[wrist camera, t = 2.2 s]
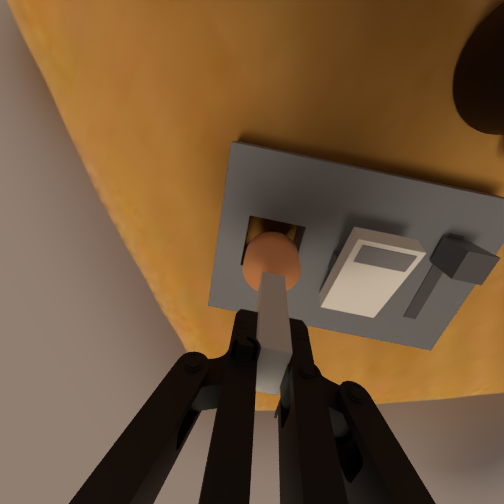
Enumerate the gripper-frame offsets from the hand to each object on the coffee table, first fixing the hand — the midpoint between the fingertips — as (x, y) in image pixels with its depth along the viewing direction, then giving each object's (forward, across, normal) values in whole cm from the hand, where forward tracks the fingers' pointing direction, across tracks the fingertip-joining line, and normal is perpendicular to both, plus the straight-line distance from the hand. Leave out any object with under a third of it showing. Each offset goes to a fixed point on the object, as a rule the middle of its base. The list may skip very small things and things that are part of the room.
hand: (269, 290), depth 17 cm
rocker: (+5, +8, 0) cm, 9 cm away
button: (+8, 0, 0) cm, 8 cm away
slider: (+7, +15, +3) cm, 17 cm away
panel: (+11, +7, 0) cm, 13 cm away
